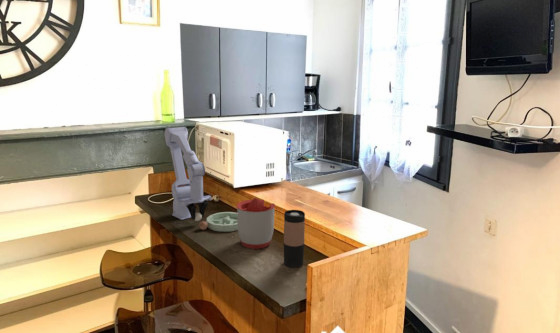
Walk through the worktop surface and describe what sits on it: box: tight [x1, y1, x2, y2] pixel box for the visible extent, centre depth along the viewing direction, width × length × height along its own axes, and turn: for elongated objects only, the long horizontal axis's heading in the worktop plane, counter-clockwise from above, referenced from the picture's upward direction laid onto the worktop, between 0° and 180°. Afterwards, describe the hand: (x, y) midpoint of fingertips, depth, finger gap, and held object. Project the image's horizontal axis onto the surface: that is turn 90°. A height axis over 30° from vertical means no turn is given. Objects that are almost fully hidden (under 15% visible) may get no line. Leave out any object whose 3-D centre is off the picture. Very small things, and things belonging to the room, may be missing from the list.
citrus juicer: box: [236, 197, 276, 250], centre depth 167 cm, size 16×17×20 cm
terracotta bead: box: [198, 220, 208, 231], centre depth 183 cm, size 4×4×4 cm
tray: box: [206, 211, 238, 233], centre depth 190 cm, size 18×18×3 cm
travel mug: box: [283, 209, 306, 269], centre depth 149 cm, size 8×8×20 cm
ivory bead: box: [194, 211, 203, 222], centre depth 188 cm, size 4×4×4 cm
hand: (197, 217), depth 188 cm, fingers closed on ivory bead, 4 cm apart
